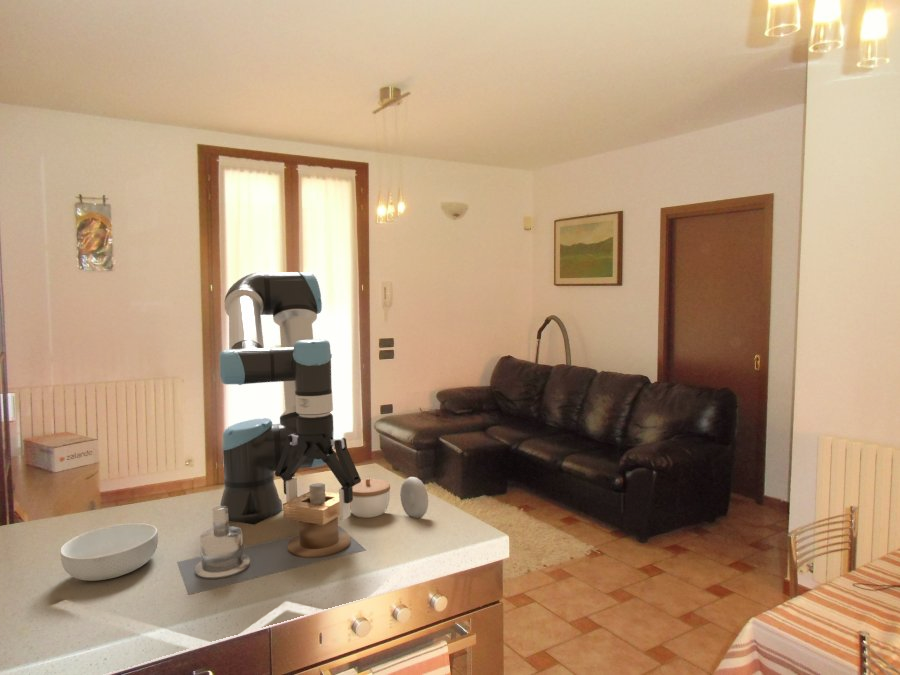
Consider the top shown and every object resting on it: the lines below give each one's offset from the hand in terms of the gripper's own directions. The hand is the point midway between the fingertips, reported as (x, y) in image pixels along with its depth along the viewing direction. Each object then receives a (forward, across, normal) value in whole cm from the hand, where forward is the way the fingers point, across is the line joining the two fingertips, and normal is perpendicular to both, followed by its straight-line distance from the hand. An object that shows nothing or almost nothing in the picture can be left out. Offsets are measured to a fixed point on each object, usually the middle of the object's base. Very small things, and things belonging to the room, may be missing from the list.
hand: (318, 513), depth 127 cm
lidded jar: (+8, -1, +21) cm, 23 cm away
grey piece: (+8, +10, +24) cm, 27 cm away
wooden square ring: (0, 0, 0) cm, 0 cm away
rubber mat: (+8, -5, -8) cm, 13 cm away
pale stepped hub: (+7, -11, -16) cm, 21 cm away
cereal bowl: (+8, -32, -24) cm, 41 cm away
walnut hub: (+7, 0, 0) cm, 7 cm away
